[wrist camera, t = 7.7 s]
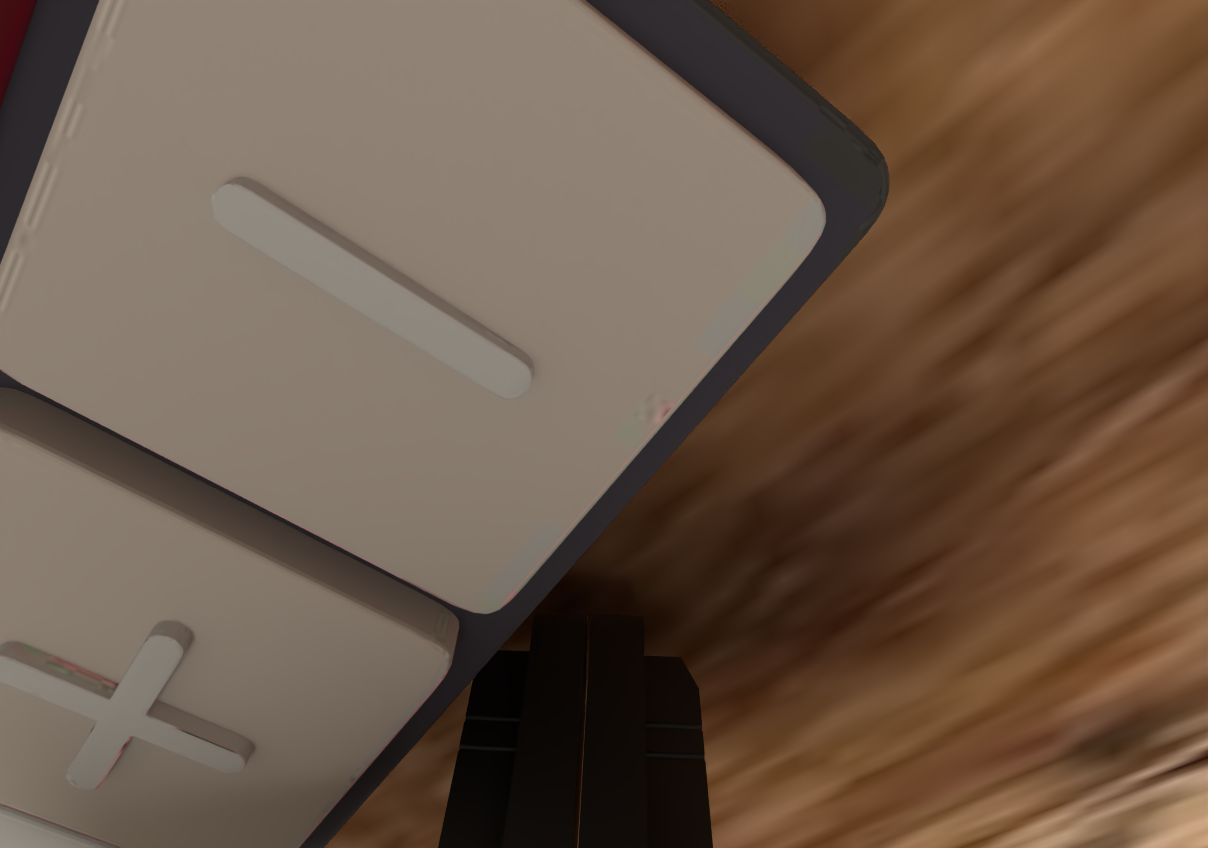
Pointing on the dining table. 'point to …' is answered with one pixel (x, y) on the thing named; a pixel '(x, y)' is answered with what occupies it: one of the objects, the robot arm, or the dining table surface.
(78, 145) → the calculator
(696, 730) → the robot arm
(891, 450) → the dining table surface
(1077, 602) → the dining table surface
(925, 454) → the dining table surface
